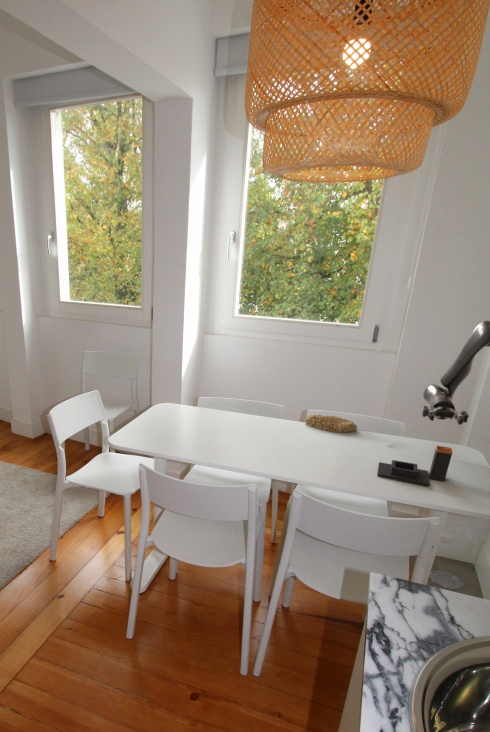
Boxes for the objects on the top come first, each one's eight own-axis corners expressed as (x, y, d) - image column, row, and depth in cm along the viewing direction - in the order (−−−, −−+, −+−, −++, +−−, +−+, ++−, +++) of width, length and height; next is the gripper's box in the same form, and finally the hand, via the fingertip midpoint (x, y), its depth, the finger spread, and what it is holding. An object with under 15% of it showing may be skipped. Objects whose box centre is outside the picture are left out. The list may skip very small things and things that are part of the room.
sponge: (303, 432, 210) (348, 436, 196) (303, 414, 209) (349, 417, 195) (315, 429, 219) (359, 433, 206) (316, 413, 218) (360, 415, 205)
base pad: (427, 473, 168) (429, 464, 167) (428, 486, 158) (431, 476, 157) (378, 464, 175) (380, 455, 173) (377, 476, 165) (379, 467, 163)
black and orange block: (443, 476, 165) (451, 447, 161) (444, 481, 162) (452, 452, 158) (428, 474, 167) (436, 445, 163) (429, 478, 163) (437, 449, 159)
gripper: (423, 395, 181) (426, 407, 168) (466, 400, 176) (473, 413, 162) (418, 413, 184) (421, 426, 171) (460, 419, 179) (466, 433, 165)
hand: (446, 420), depth 166 cm, fingers open, 8 cm apart
